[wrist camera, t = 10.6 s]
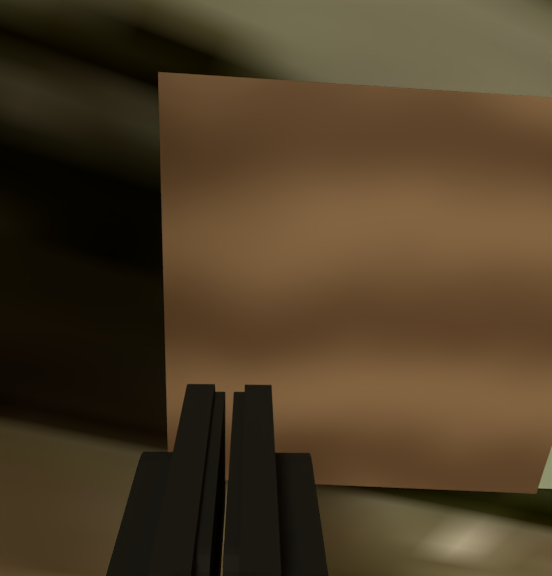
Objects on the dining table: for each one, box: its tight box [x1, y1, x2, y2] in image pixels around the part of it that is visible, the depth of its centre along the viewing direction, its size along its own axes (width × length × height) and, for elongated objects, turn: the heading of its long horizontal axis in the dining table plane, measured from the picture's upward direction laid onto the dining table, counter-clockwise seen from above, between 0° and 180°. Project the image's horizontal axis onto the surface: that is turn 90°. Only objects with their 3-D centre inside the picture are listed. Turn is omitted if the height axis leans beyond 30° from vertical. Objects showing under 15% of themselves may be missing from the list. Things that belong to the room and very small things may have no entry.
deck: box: [158, 72, 552, 494], centre depth 21 cm, size 16×16×4 cm
